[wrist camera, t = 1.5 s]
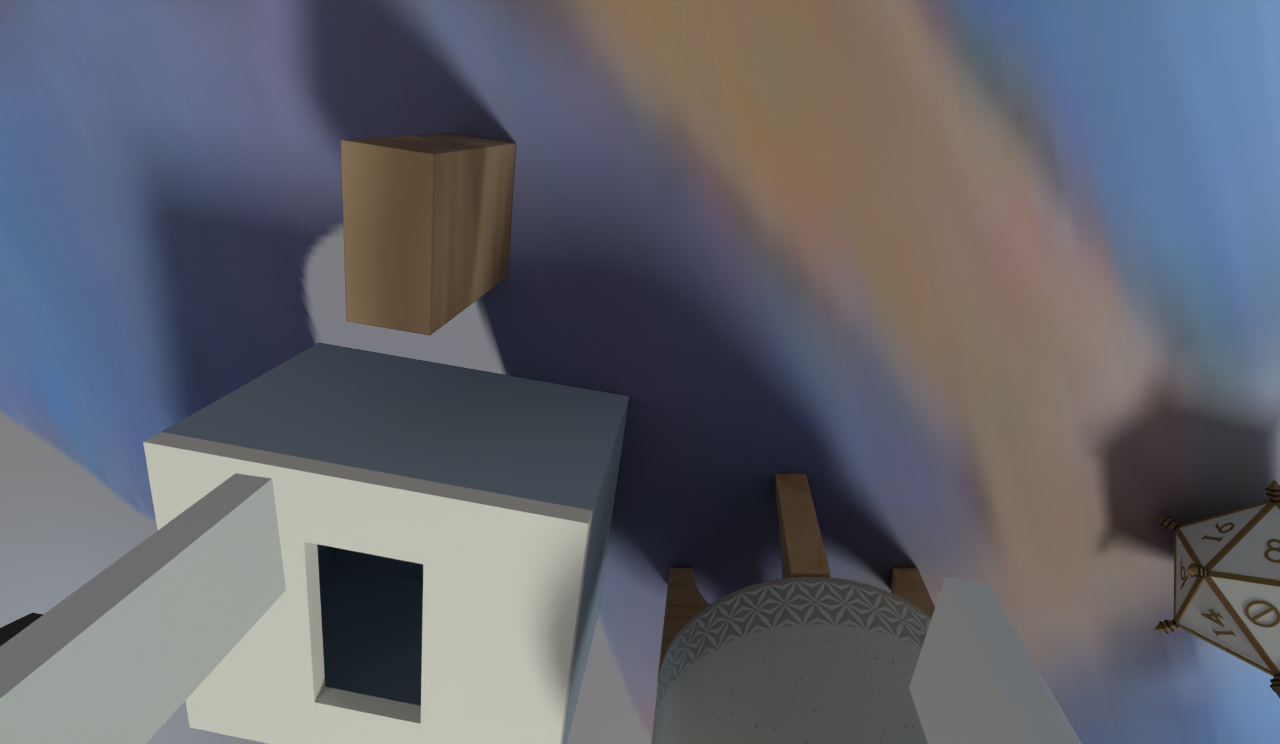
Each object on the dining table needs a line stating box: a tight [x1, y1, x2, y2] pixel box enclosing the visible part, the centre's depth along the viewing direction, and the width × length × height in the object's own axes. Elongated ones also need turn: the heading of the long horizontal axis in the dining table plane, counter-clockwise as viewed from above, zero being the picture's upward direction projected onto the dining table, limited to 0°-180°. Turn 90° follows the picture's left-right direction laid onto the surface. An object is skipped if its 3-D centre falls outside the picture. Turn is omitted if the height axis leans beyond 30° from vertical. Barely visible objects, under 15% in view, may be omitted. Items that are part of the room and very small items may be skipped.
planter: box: [651, 474, 935, 744], centre depth 27 cm, size 13×13×18 cm
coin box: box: [143, 343, 629, 744], centre depth 31 cm, size 14×16×11 cm
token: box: [341, 133, 516, 335], centre depth 26 cm, size 3×6×9 cm, turn 172°
